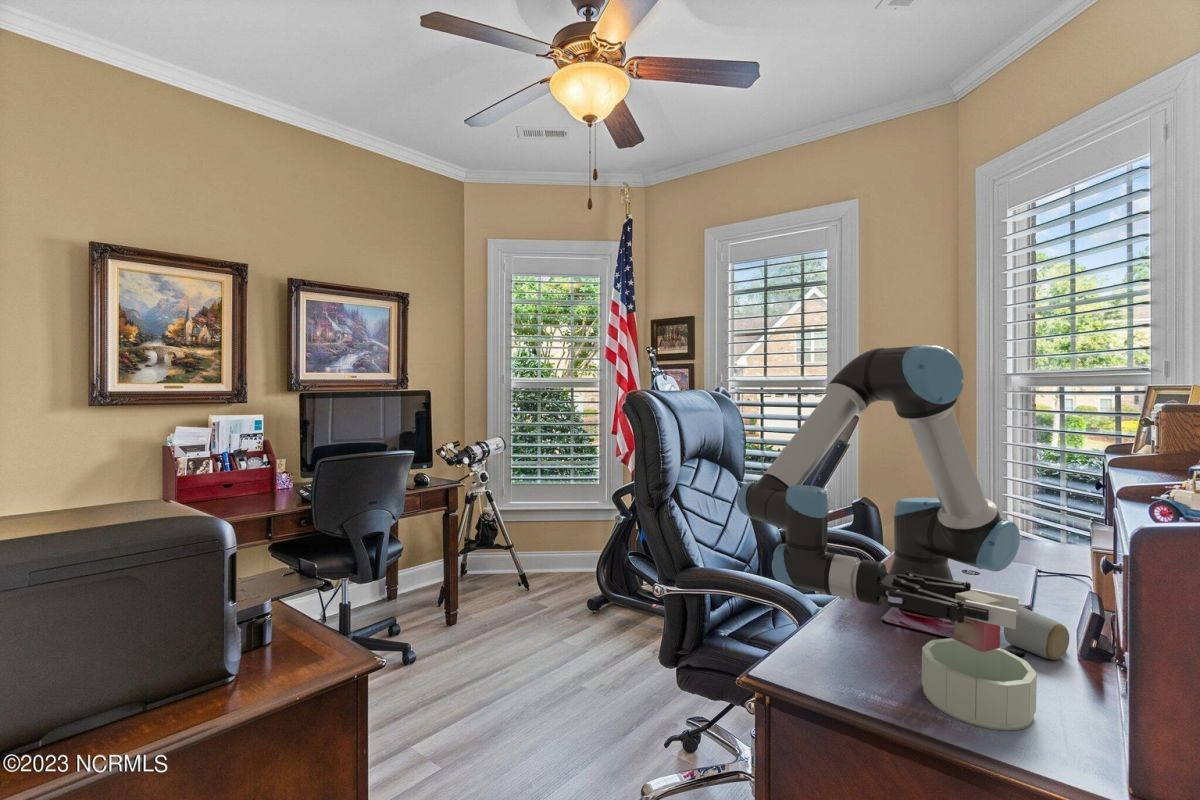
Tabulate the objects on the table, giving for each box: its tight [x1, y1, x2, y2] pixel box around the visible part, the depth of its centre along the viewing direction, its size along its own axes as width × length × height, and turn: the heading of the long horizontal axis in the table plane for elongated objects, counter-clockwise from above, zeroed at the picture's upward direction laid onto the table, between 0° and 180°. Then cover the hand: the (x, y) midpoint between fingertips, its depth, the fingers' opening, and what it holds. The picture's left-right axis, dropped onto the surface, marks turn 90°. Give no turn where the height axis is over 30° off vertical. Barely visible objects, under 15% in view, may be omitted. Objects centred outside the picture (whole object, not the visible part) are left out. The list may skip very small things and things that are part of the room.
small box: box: [953, 590, 1002, 652], centre depth 92 cm, size 5×4×8 cm
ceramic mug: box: [1003, 606, 1070, 661], centre depth 110 cm, size 11×8×8 cm
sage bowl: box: [921, 637, 1038, 732], centre depth 92 cm, size 15×15×7 cm
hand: (1016, 612), depth 89 cm, fingers closed on small box, 6 cm apart
